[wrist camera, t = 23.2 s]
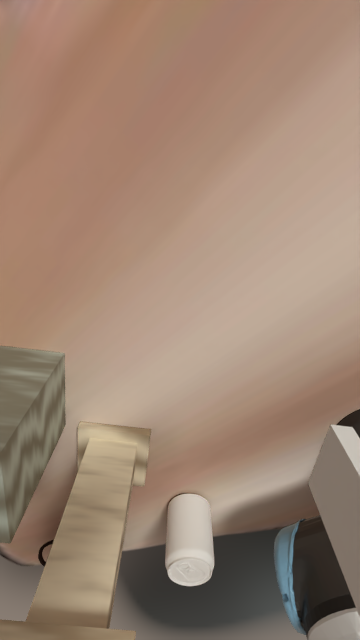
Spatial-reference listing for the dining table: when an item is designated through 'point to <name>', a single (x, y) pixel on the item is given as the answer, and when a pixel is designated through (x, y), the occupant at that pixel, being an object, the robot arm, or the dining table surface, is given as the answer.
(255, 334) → the dining table surface
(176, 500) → the beverage can
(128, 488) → the beige grey streaked blocks
